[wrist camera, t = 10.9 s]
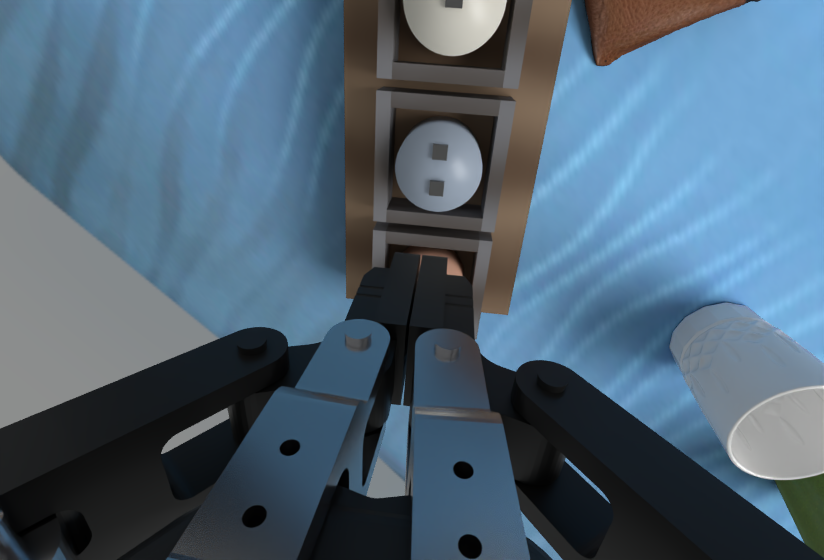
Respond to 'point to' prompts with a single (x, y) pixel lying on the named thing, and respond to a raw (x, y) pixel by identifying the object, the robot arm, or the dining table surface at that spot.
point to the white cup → (754, 390)
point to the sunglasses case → (643, 22)
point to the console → (457, 98)
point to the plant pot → (806, 508)
